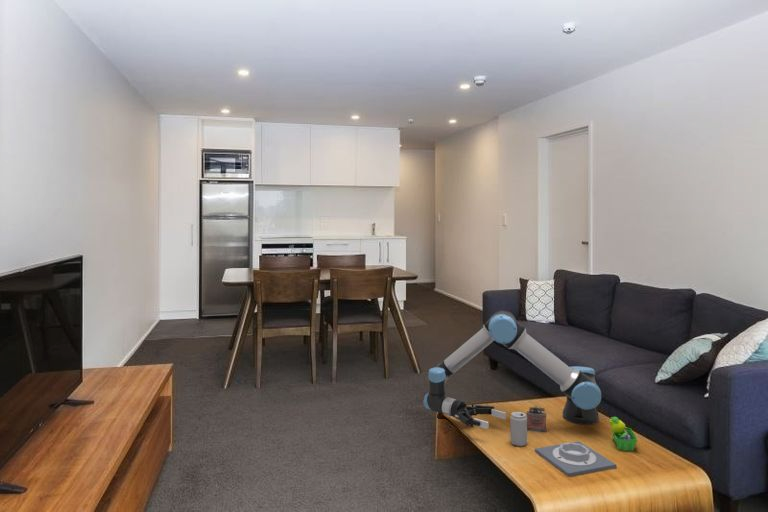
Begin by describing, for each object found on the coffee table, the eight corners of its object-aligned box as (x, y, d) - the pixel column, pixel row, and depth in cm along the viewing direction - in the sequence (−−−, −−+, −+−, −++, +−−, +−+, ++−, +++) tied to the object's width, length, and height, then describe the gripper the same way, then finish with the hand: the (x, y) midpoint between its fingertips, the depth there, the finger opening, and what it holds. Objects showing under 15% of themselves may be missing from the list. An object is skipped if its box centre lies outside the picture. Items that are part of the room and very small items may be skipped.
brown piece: (526, 430, 205) (526, 407, 204) (526, 427, 208) (526, 404, 208) (546, 433, 202) (546, 409, 201) (546, 430, 205) (546, 406, 204)
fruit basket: (638, 453, 183) (638, 423, 182) (612, 450, 185) (612, 422, 184) (630, 440, 194) (630, 412, 193) (606, 438, 196) (606, 411, 195)
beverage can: (527, 447, 189) (527, 417, 188) (510, 446, 190) (510, 416, 189) (526, 440, 195) (526, 411, 194) (510, 439, 196) (509, 410, 196)
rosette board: (579, 444, 191) (579, 434, 191) (616, 467, 172) (616, 456, 171) (534, 451, 185) (534, 441, 185) (568, 476, 166) (568, 465, 166)
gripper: (470, 408, 223) (512, 420, 208) (437, 425, 205) (480, 439, 190) (470, 392, 222) (512, 403, 208) (437, 407, 204) (480, 420, 190)
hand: (497, 420), depth 199 cm, fingers open, 13 cm apart
